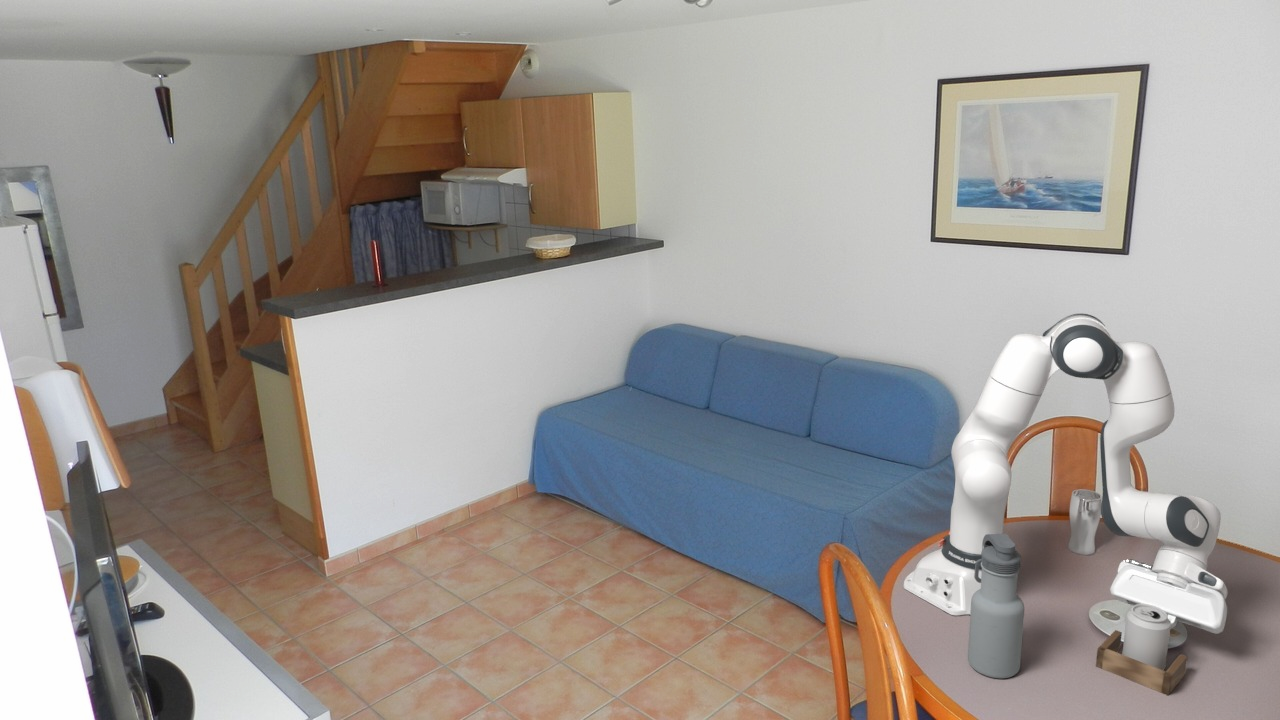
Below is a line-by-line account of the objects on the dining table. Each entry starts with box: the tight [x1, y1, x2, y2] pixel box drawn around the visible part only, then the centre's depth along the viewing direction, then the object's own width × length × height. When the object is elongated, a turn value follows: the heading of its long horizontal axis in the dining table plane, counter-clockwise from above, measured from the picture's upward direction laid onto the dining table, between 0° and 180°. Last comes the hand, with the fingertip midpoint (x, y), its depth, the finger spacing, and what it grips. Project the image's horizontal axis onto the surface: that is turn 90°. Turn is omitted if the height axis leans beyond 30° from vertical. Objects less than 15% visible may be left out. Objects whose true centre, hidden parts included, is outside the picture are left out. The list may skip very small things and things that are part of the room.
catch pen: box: [1095, 629, 1188, 696], centre depth 168 cm, size 13×9×4 cm
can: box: [1121, 604, 1171, 671], centre depth 168 cm, size 8×8×12 cm
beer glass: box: [1067, 488, 1103, 556], centre depth 213 cm, size 7×7×15 cm
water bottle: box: [967, 533, 1025, 679], centre depth 169 cm, size 10×10×28 cm
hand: (1155, 634), depth 171 cm, fingers closed, pressing on can
